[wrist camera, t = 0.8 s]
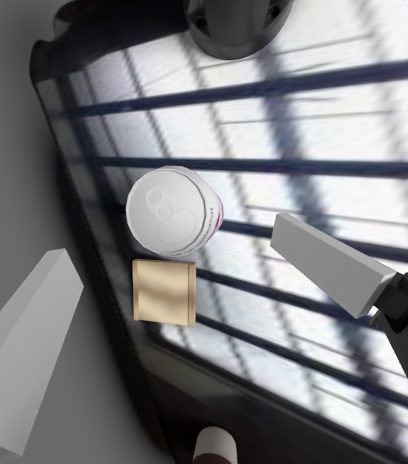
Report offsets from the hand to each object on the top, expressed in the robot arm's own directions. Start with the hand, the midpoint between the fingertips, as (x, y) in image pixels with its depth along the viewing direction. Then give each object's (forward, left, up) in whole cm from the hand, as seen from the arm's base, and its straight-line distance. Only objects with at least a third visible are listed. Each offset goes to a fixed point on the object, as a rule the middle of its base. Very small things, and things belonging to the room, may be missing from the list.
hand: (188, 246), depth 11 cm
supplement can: (-2, -3, -18) cm, 18 cm away
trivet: (+12, -9, -18) cm, 23 cm away
